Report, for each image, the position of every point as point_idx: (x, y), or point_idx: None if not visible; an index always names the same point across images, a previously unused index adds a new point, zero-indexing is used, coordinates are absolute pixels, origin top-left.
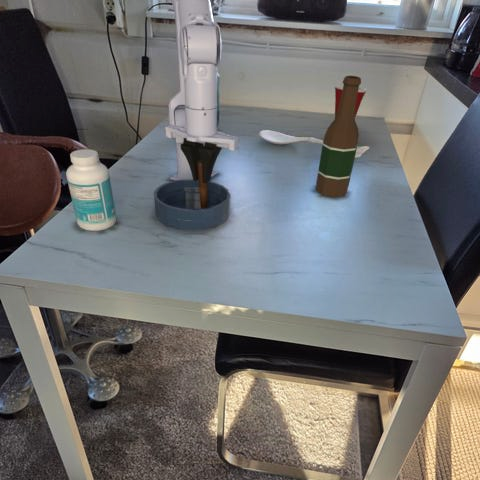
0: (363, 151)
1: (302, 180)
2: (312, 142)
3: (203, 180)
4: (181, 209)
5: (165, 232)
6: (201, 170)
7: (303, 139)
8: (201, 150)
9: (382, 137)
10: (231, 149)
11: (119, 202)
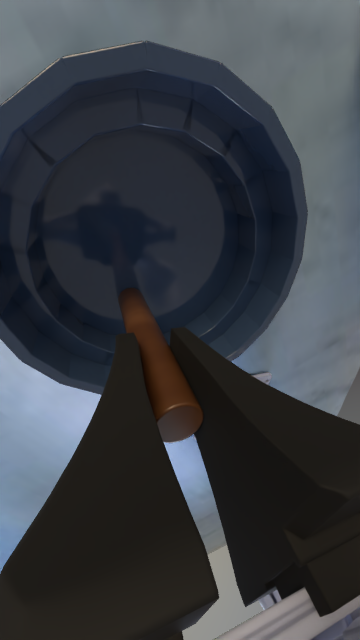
0: None
1: (22, 517)
2: None
3: (129, 338)
4: (119, 46)
5: (169, 35)
6: (157, 378)
7: None
8: (154, 590)
9: None
10: None
11: (357, 215)
